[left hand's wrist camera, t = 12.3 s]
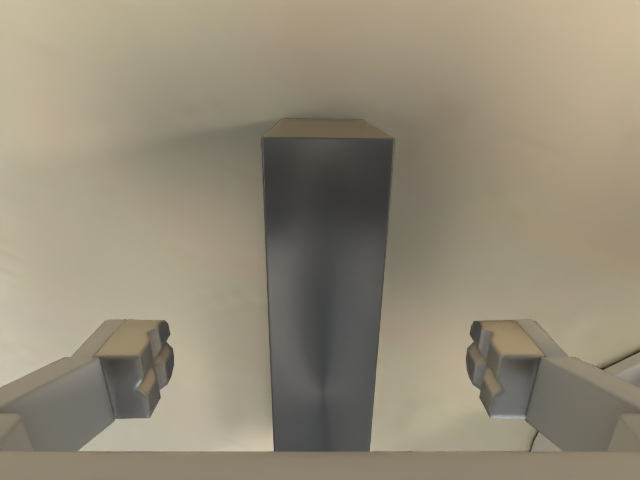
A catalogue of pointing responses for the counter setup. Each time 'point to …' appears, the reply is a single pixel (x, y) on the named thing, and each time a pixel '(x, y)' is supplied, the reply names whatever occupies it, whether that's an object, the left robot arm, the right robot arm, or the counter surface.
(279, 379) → the box
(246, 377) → the counter surface
